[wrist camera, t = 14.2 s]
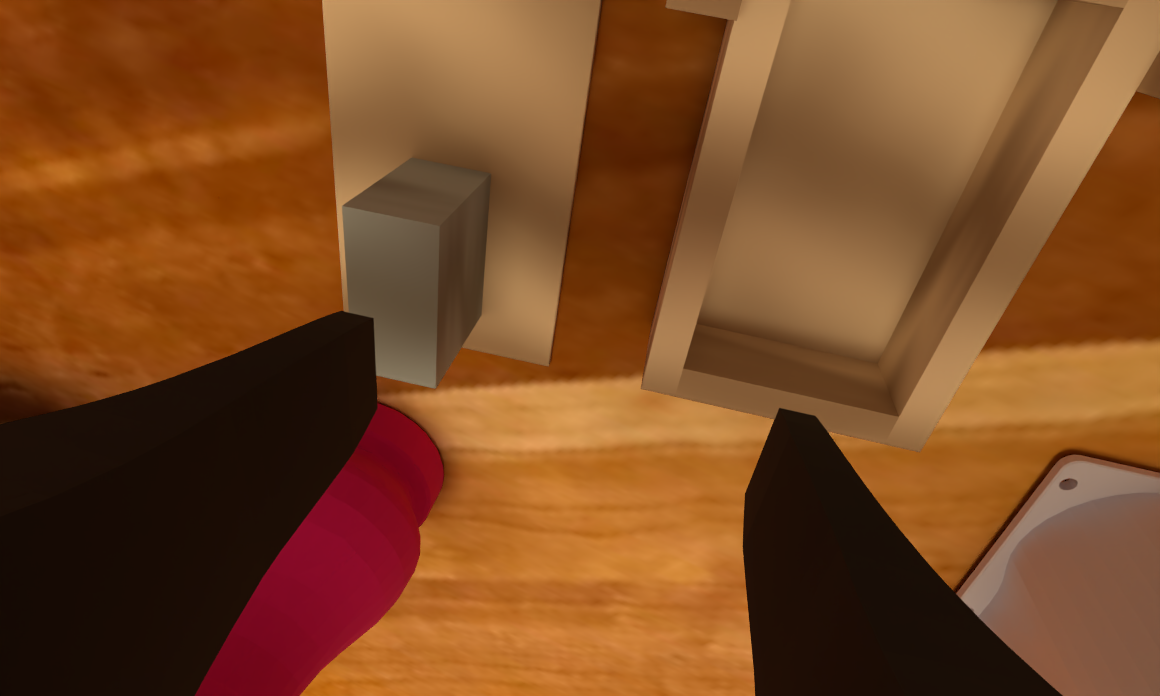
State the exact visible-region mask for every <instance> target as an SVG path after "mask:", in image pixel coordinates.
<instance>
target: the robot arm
mask: <svg viewBox="0 0 1160 696" xmlns="http://www.w3.org/2000/svg"><path fill="white" fill-rule="evenodd" d="M377 409H378V406H377V383H376V360H375V337H374V318H371V317H367V316H362V315H358V314H353V313H349V312H344V311H340V312H336V313H333V314H330V315H328V316H325V317H322V318H320V319H317V320H315V321H312V322H310V323H307V324H305V325H303V326H300V327H298V328H295V329H293V330H291V331H288V332H286V333H284V334H281V335H279V336H276V337H274V338H272V339H269V340H267V341H264V342H262V343H260V344H257V345H255V346H252V347H250V348H248V349H245V350H243V351H240V352H238V353H236V354H233V355H231V356H228V357H225V358H223V359H220V360H217V361H215V362H212V363H209V364H207V365H204V366H201V367H199V368H196V369H193V370H191V371H188V372H185V373H183V374H180V375H177V376H175V377H172V378H169V379H166V380H163V381H160V382H157V383H154V384H151V385H148V386H145V387H142V388H139V389H136V390H133V391H129V392H126V393H122V394H119V395H116V396H112V397H109V398H105V399H102V400H98V401H95V402H91V403H88V404H84V405H80V406H76V407H72V408H68V409H64V410H59V411H55V412H51V413H47V414H42V415H38V416H34V417H30V418H25V419H21V420H17V421H13V422H8V423H4V424H0V696H195V695H196V693H197V691H198V689H199V687H200V685H201V683H202V681H203V680H204V678H205V676H206V674H207V673H208V671H209V669H210V667H211V665H212V664H213V662H214V660H215V658H216V657H217V655H218V653H219V651H220V650H221V648H222V646H223V644H224V642H225V641H226V639H227V637H228V635H229V634H230V632H231V630H232V628H233V627H234V625H235V623H236V622H237V620H238V618H239V616H240V615H241V613H242V611H243V610H244V608H245V606H246V605H247V603H248V601H249V600H250V598H251V596H252V595H253V593H254V591H255V590H256V588H257V586H258V585H259V583H260V581H261V580H262V578H263V576H264V575H265V573H266V572H267V570H268V569H269V568H270V566H271V565H272V563H273V562H274V560H275V559H276V557H277V556H278V554H279V553H280V552H281V550H282V549H283V548H284V546H285V545H286V543H287V542H288V541H289V539H290V538H291V537H292V535H293V534H294V533H295V531H296V530H297V529H298V527H299V526H300V525H301V523H302V522H303V521H304V519H305V518H306V517H307V515H308V514H309V513H310V511H311V510H312V509H313V507H314V506H315V505H316V503H317V502H318V501H319V499H320V498H321V497H322V495H323V494H324V493H325V491H326V490H327V489H328V487H329V486H330V485H331V483H332V482H333V481H334V479H335V478H336V476H337V475H338V474H339V472H340V471H341V470H342V468H343V467H344V466H345V464H346V463H347V461H348V460H349V459H350V457H351V456H352V454H353V453H354V451H355V449H356V448H357V446H358V444H359V442H360V440H361V439H362V437H363V435H364V433H365V432H366V430H367V428H368V426H369V424H370V422H371V420H372V418H373V416H374V414H375V412H376V410H377ZM1068 478H1070V479H1069V480H1068V481H1064V482H1061V481H1063V480H1065V479H1068ZM743 555H744V567H745V579H746V590H747V601H748V612H749V622H750V633H751V644H752V655H753V665H754V679H755V696H1160V473H1158V472H1154V471H1149V470H1145V469H1140V468H1136V467H1131V466H1127V465H1123V464H1118V463H1114V462H1109V461H1105V460H1100V459H1096V458H1091V457H1087V456H1082V455H1069V456H1066V457H1063V458H1061V459H1060V460H1059V461H1058V462H1057V463H1056V464H1055V465H1054V467H1053V468H1052V469H1051V470H1050V472H1049V473H1048V474H1047V476H1046V477H1045V478H1044V480H1043V481H1042V482H1041V484H1040V485H1039V486H1038V487H1037V489H1036V490H1035V491H1034V493H1033V494H1032V495H1031V497H1030V498H1029V499H1028V501H1027V502H1026V503H1025V504H1024V506H1023V507H1022V508H1021V510H1020V511H1019V512H1018V514H1017V515H1016V516H1015V518H1014V519H1013V520H1012V521H1011V523H1010V524H1009V525H1008V527H1007V528H1006V529H1005V531H1004V532H1003V533H1002V535H1001V536H1000V537H999V538H998V540H997V541H996V542H995V544H994V545H993V546H992V548H991V549H990V550H989V551H988V553H987V554H986V555H985V557H984V558H983V559H982V561H981V562H980V563H979V565H978V566H977V567H976V568H975V570H974V571H973V572H972V574H971V575H970V576H969V578H968V579H967V580H966V582H965V583H964V584H963V585H962V587H961V588H960V589H959V591H958V592H957V593H955V592H954V591H953V590H952V589H951V588H950V587H949V586H948V585H947V584H946V583H945V582H944V581H943V580H942V578H941V577H940V576H939V575H938V574H937V573H936V572H935V571H934V570H933V569H932V567H931V566H930V565H929V564H928V563H927V562H926V561H925V559H924V558H923V557H922V556H921V555H920V553H919V552H918V551H917V550H916V549H915V547H914V546H913V545H912V544H911V543H910V541H909V540H908V539H907V538H906V537H905V536H904V534H903V533H902V532H901V531H900V530H899V528H898V527H897V526H896V524H895V523H894V522H893V521H892V519H891V518H890V517H889V516H888V514H887V513H886V512H885V511H884V509H883V508H882V507H881V505H880V504H879V503H878V501H877V500H876V499H875V497H874V496H873V495H872V493H871V492H870V491H869V489H868V488H867V487H866V485H865V484H864V483H863V481H862V480H861V478H860V477H859V476H858V474H857V473H856V472H855V470H854V469H853V467H852V466H851V464H850V463H849V462H848V460H847V459H846V457H845V456H844V455H843V453H842V452H841V450H840V449H839V447H838V446H837V445H836V443H835V442H834V440H833V439H832V437H831V436H830V435H829V433H828V432H827V430H826V429H825V428H824V426H823V425H822V423H821V422H820V421H819V419H818V418H817V417H816V416H814V415H810V414H805V413H801V412H796V411H792V410H787V409H783V408H779V410H778V412H777V415H776V417H775V420H774V422H773V425H772V427H771V430H770V432H769V435H768V437H767V440H766V443H765V445H764V448H763V450H762V453H761V455H760V458H759V460H758V463H757V465H756V468H755V470H754V473H753V475H752V478H751V480H750V483H749V485H748V488H747V490H746V493H745V506H744V527H743Z"/></svg>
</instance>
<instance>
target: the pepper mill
mask: <svg viewBox="0 0 1160 696" xmlns="http://www.w3.org/2000/svg"><path fill="white" fill-rule="evenodd" d="M377 406H378V409H377V410H376V412H375V414H374V416H373V418H372V420H371V422H370V424H369V426H368V428H367V430H366V432H365V433H364V435H363V437H362V439H361V440H360V442H359V444H358V446H357V448H356V449H355V451H354V453H353V454H352V456H351V457H350V459H349V460H348V461H347V463H346V464H345V466H344V467H343V468H342V470H341V471H340V472H339V474H338V475H337V476H336V478H335V479H334V481H333V482H332V483H331V485H330V486H329V487H328V489H327V490H326V491H325V493H324V494H323V495H322V497H321V498H320V499H319V501H318V502H317V503H316V505H315V506H314V507H313V509H312V510H311V511H310V513H309V514H308V515H307V517H306V518H305V519H304V521H303V522H302V523H301V525H300V526H299V527H298V529H297V530H296V531H295V533H294V534H293V535H292V537H291V538H290V539H289V541H288V542H287V543H286V545H285V546H284V548H283V549H282V550H281V552H280V553H279V554H278V556H277V557H276V559H275V560H274V562H273V563H272V565H271V566H270V568H269V569H268V570H267V572H266V573H265V575H264V576H263V578H262V580H261V581H260V583H259V585H258V586H257V588H256V590H255V591H254V593H253V595H252V596H251V598H250V600H249V601H248V603H247V605H246V606H245V608H244V610H243V611H242V613H241V615H240V616H239V618H238V620H237V622H236V623H235V625H234V627H233V628H232V630H231V632H230V634H229V635H228V637H227V639H226V641H225V642H224V644H223V646H222V648H221V650H220V651H219V653H218V655H217V657H216V658H215V660H214V662H213V664H212V665H211V667H210V669H209V671H208V673H207V674H206V676H205V678H204V680H203V681H202V683H201V685H200V687H199V689H198V691H197V693H196V695H195V696H299V695H300V694H301V693H302V692H303V691H304V690H305V688H306V687H307V686H308V685H309V684H310V683H311V681H312V680H313V679H314V678H315V677H316V676H317V674H318V673H319V672H320V671H321V670H322V669H323V668H324V667H325V666H326V665H327V664H329V663H330V662H331V661H332V660H333V659H334V658H335V657H336V656H338V655H339V654H340V653H341V652H342V651H343V650H345V649H346V648H347V647H348V646H350V645H351V644H352V643H353V642H354V641H356V640H357V639H358V638H359V637H361V636H362V635H363V634H364V633H365V632H367V631H368V630H369V629H370V628H372V627H373V626H374V625H375V624H376V623H377V622H378V621H379V620H380V619H381V618H382V617H383V616H384V615H385V613H386V612H387V611H388V610H389V609H390V608H391V607H392V606H393V605H394V603H395V602H396V601H397V599H398V598H399V597H400V595H401V593H402V592H403V590H404V588H405V587H406V585H407V583H408V581H409V580H410V578H411V576H412V575H413V573H414V571H415V568H416V565H417V562H418V559H419V556H420V533H419V527H420V526H421V525H422V524H423V522H424V521H425V520H426V518H427V516H428V514H429V512H430V510H431V508H432V506H433V504H434V502H435V500H436V498H437V496H438V494H439V492H440V490H441V488H442V484H443V478H444V472H443V464H442V461H441V458H440V455H439V452H438V450H437V448H436V447H435V445H434V444H433V443H432V441H431V440H430V438H429V437H428V435H427V434H426V433H425V432H424V431H423V430H422V429H421V428H420V427H419V426H418V425H417V424H416V423H415V422H413V421H412V420H410V419H409V418H407V417H406V416H404V415H403V414H401V413H400V412H398V411H396V410H394V409H391V408H389V407H386V406H384V405H381V404H379V403H377Z"/></svg>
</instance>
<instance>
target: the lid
mask: <svg viewBox="0 0 1160 696" xmlns="http://www.w3.org/2000/svg"><path fill="white" fill-rule="evenodd" d="M322 4H323V19H324V33H325V47H326V62H327V76H328V91H329V105H330V120H331V134H332V148H333V163H334V177H335V192H336V206H337V220H338V235H339V249H340V264H341V278H342V293H343V307H344V312H349V313H353V314H358V315H362V316H367V317H371V318H374V337H375V360H376V375H377V376H381V377H385V378H390V379H394V380H399V381H403V382H408V383H412V384H417V385H421V386H426V387H430V388H435V389H436V387H437V386H438V384H439V383H440V381H441V379H442V378H443V376H444V375H445V373H446V371H447V370H448V368H449V367H450V365H451V363H452V362H453V360H454V359H455V357H456V355H457V354H458V352H459V351H460V349H461V347H462V348H467V349H471V350H476V351H480V352H485V353H490V354H494V355H499V356H503V357H508V358H512V359H517V360H521V361H526V362H531V363H535V364H540V365H544V366H549V364H550V360H551V354H552V347H553V340H554V333H555V326H556V319H557V312H558V305H559V298H560V291H561V284H562V277H563V270H564V263H565V256H566V249H567V242H568V235H569V228H570V221H571V214H572V208H573V201H574V194H575V187H576V180H577V173H578V166H579V159H580V152H581V145H582V138H583V131H584V124H585V117H586V110H587V103H588V96H589V89H590V82H591V75H592V69H593V62H594V55H595V48H596V41H597V34H598V27H599V20H600V13H601V6H602V0H322Z"/></svg>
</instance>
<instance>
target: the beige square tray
mask: <svg viewBox="0 0 1160 696" xmlns="http://www.w3.org/2000/svg"><path fill="white" fill-rule="evenodd" d="M666 8H670V9H675V10H680V11H686V12H691V13H697V14H702V15H707V16H713V17H718V18H723V19H727V23H726V27H725V31H724V35H723V39H722V43H721V47H720V51H719V55H718V59H717V63H716V67H715V71H714V76H713V80H712V84H711V88H710V92H709V96H708V100H707V104H706V108H705V112H704V116H703V120H702V124H701V128H700V132H699V136H698V140H697V144H696V148H695V152H694V156H693V160H692V164H691V168H690V172H689V176H688V180H687V184H686V188H685V192H684V197H683V201H682V205H681V209H680V213H679V217H678V221H677V225H676V229H675V233H674V237H673V241H672V245H671V249H670V253H669V257H668V261H667V265H666V269H665V273H664V277H663V281H662V285H661V289H660V293H659V297H658V301H657V305H656V309H655V314H654V318H653V322H652V326H651V330H650V336H649V342H648V348H647V354H646V361H645V367H644V373H643V379H642V385H641V389H644V390H648V391H653V392H657V393H661V394H666V395H670V396H675V397H679V398H683V399H688V400H692V401H697V402H701V403H705V404H710V405H714V406H719V407H723V408H727V409H732V410H736V411H741V412H745V413H749V414H754V415H758V416H763V417H767V418H771V419H775V417H776V415H777V412H778V410H779V408H783V409H787V410H792V411H796V412H801V413H805V414H810V415H814V416H816V417H817V418H818V419H819V421H820V422H821V423H822V425H823V426H824V428H825V429H826V430H827V431H828V432H833V433H837V434H842V435H846V436H850V437H855V438H859V439H864V440H868V441H872V442H877V443H881V444H886V445H890V446H894V447H899V448H903V449H908V450H912V451H916V452H920V451H921V450H922V448H923V446H924V445H925V443H926V441H927V440H928V438H929V436H930V435H931V433H932V431H933V430H934V428H935V426H936V425H937V423H938V421H939V420H940V418H941V416H942V415H943V413H944V411H945V410H946V408H947V406H948V405H949V403H950V401H951V400H952V398H953V396H954V395H955V393H956V391H957V390H958V388H959V386H960V385H961V383H962V381H963V379H964V378H965V376H966V374H967V373H968V371H969V369H970V368H971V366H972V364H973V363H974V361H975V359H976V358H977V356H978V354H979V353H980V351H981V349H982V348H983V346H984V344H985V343H986V341H987V339H988V338H989V336H990V334H991V333H992V331H993V329H994V328H995V326H996V324H997V323H998V321H999V319H1000V318H1001V316H1002V314H1003V313H1004V311H1005V309H1006V307H1007V306H1008V304H1009V302H1010V301H1011V299H1012V297H1013V296H1014V294H1015V292H1016V291H1017V289H1018V287H1019V286H1020V284H1021V282H1022V281H1023V279H1024V277H1025V276H1026V274H1027V272H1028V271H1029V269H1030V267H1031V266H1032V264H1033V262H1034V261H1035V259H1036V257H1037V256H1038V254H1039V252H1040V251H1041V249H1042V247H1043V246H1044V244H1045V242H1046V241H1047V239H1048V237H1049V235H1050V234H1051V232H1052V230H1053V229H1054V227H1055V225H1056V224H1057V222H1058V220H1059V219H1060V217H1061V215H1062V214H1063V212H1064V210H1065V209H1066V207H1067V205H1068V204H1069V202H1070V200H1071V199H1072V197H1073V195H1074V194H1075V192H1076V190H1077V189H1078V187H1079V185H1080V184H1081V182H1082V180H1083V179H1084V177H1085V175H1086V174H1087V172H1088V170H1089V169H1090V167H1091V165H1092V163H1093V162H1094V160H1095V158H1096V157H1097V155H1098V153H1099V152H1100V150H1101V148H1102V147H1103V145H1104V143H1105V142H1106V140H1107V138H1108V137H1109V135H1110V133H1111V132H1112V130H1113V128H1114V127H1115V125H1116V123H1117V122H1118V120H1119V118H1120V117H1121V115H1122V113H1123V112H1124V110H1125V108H1126V107H1127V105H1128V103H1129V102H1130V100H1131V98H1132V97H1133V95H1134V93H1135V91H1137V92H1140V93H1143V94H1146V95H1149V96H1153V97H1156V98H1159V99H1160V0H667V2H666Z"/></svg>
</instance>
